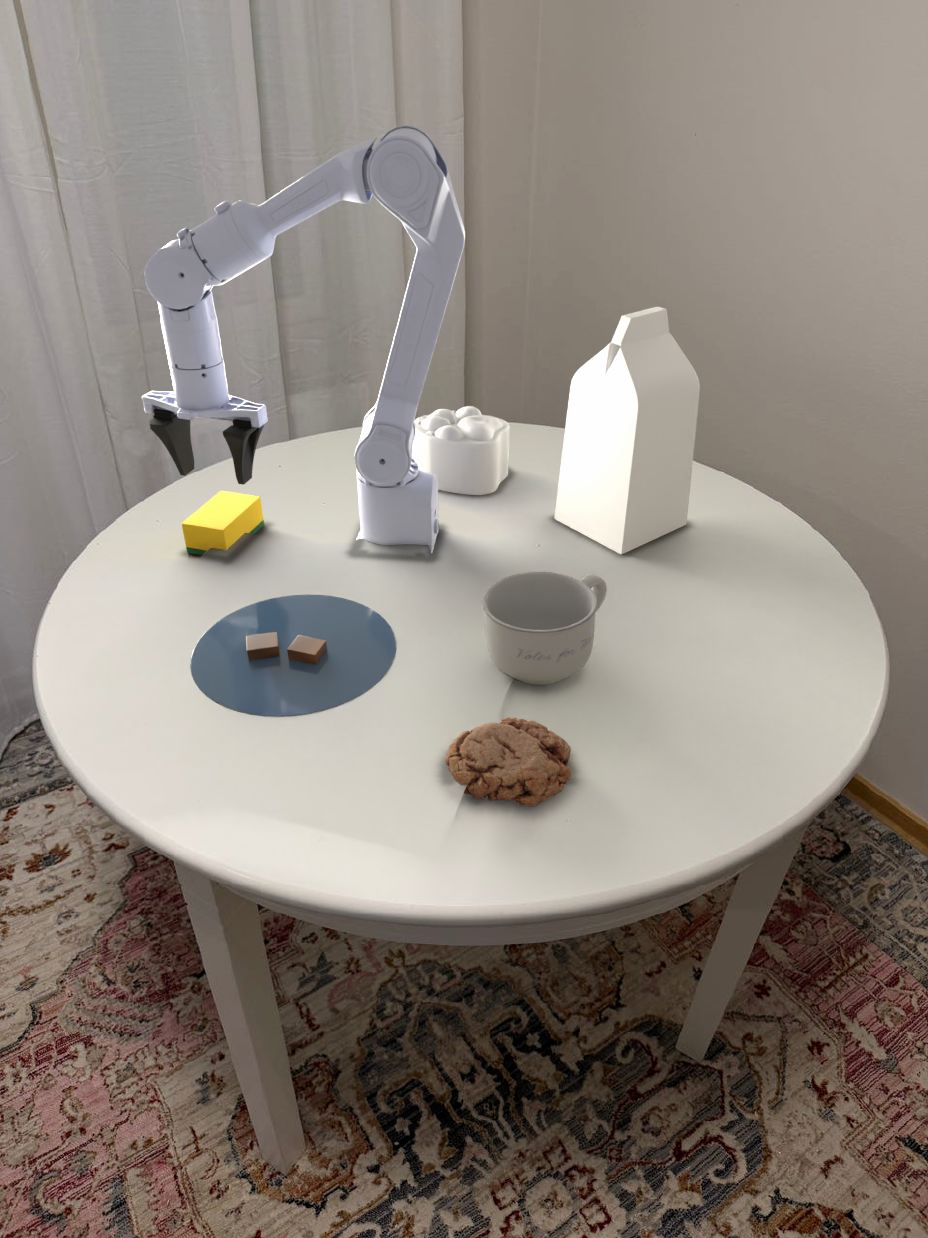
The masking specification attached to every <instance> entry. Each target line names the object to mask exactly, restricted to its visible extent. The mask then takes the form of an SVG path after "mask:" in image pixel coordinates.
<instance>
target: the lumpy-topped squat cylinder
mask: <svg viewBox="0 0 928 1238" xmlns="http://www.w3.org/2000/svg"><path fill="white" fill-rule="evenodd" d="M414 423H415V428H416V433H415V438H414V441H413V446H412V457H413V459H414V460H415V463H417V465H418V470H421V471H423V472H426V473H430V474H435V475H437V480H438V491H442V492H448V493H453V494H459V495H460V494H461V495H466V496H467V495H468V496H486V495H489V494H492V493H495V492H496V491H497V490H498V488H499V485H500V483H502V482H503V481H504V480H506V478H507V477H508V476H509V463H510V461H509V459H510V428H511V426H510V424H509V423H508V422H507V421H506V420H504V419H502V418H499V417H496V416H493V415H487V414H486V415H484V414H482V413H481V411H480V409H479V408H477V407H475V406H473V405H466V406H463V407H461V408H459V409H457V411H456V410H450V409H449V408H439V409H436V410H434V411H433V412H432V413H430V414H423V415H422V416H418V417H417V418H415V420H414Z"/></svg>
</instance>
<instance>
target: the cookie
mask: <svg viewBox="0 0 928 1238" xmlns="http://www.w3.org/2000/svg"><path fill="white" fill-rule="evenodd" d="M571 752H572V748H571V745H570V744H569V743H568V742H567V741H566V740H565V739H564V738H562V737H561V736H560V735H558V734H556V733H555V732H553V731H552V730H550V729H549V730H548V727H547V726H545V725H543V724H541V723H539V722H537V721H536V720H527V719H524V718H517V717H513V718H511V717H505V718H502V719H501V722H490V723H485V724H482V725H479V726H477V727H475V728H473V729H471V730H466V731H463V732H462V733H460V735H458V736H457V737H456V738H455V739H454V740H453V742H452V743H451V744H450V745H449V748H448V750H447V753H446V757H445V764H446V765H447V766H448V767H447V769H448V771H449V772H450V775H451V776H452V778H453V779H454V781H455V782H457V783H458V784H459V785H461V786H462V785H464V786H466V787H465V789H464V791H463V793H464V794H465V795H470V796H474V799H477V800H483V799H484V798H486V797H487V799H488V801H490V802H491V801H497V800H499V801H513V802H514V803H516V804H518V805H519V806H523V807H536V806H537V805H539V804H541V803H543V802H546V801H547V800H548V799H550V798H552V797H554V796H556V795H557V794H559V793H560V792H562V790H563V789H564V788H565V787H564V785H567V783H568V781H570V780H571V777H572V771H571V768H570V766H568V763H569V760H570V758H571Z"/></svg>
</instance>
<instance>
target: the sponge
mask: <svg viewBox="0 0 928 1238" xmlns="http://www.w3.org/2000/svg"><path fill="white" fill-rule="evenodd" d="M263 513H264V512H263V506H262V500H261V496H258V495H253V494H252V495H251V494H245V493H239V492H232V491H226V490H220V491H219V492H217V493H216V494H215V495H214V496H212V497H211V498H210V499H209V500H207V502H205V503H204V504H203V505H202V506H200V507H199V508H198V509H197V510H196V511H195V512H193V513H192V514H191V515H190V516H188V517H187V518H186V519H185V520H184V521H183V522H181V530H182V534H183V538H184V543H185V549H186V554H191V555H196V556H204V555H205V553H207V552H208V551H209V550H210V549H217V550H223V551H227V550H228V549H229V548H231V547H232V545H234V544H235V543H236V542H237V541H238V540H239V539H240V538H241V537H242V536H243V535H244V534H250V535H256V534H257V533H258V532H259V531H260V530H261V529H262V528H263V527H264V526H265V519H264V514H263Z"/></svg>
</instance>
